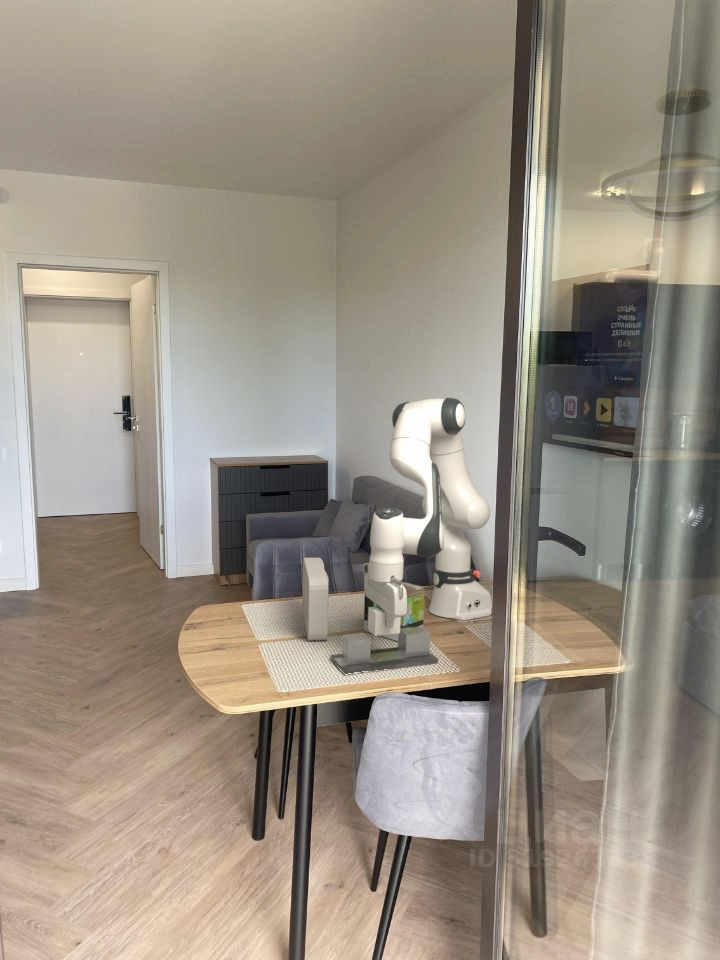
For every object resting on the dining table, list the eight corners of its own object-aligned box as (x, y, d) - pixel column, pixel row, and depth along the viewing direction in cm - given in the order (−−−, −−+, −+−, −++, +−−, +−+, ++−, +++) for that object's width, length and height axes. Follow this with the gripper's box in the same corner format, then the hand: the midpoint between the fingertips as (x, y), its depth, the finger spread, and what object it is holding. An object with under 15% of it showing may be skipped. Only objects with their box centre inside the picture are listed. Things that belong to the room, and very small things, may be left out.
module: (392, 627, 195) (393, 604, 194) (399, 633, 191) (400, 610, 190) (367, 629, 193) (368, 606, 192) (374, 635, 188) (375, 612, 187)
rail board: (419, 648, 203) (420, 622, 202) (438, 663, 192) (439, 635, 191) (330, 659, 193) (330, 632, 192) (344, 675, 183) (345, 646, 182)
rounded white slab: (335, 642, 206) (336, 580, 203) (308, 643, 205) (309, 580, 202) (326, 610, 234) (327, 555, 231) (302, 611, 233) (302, 555, 230)
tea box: (424, 635, 213) (426, 586, 211) (402, 644, 206) (404, 593, 204) (384, 623, 223) (385, 576, 221) (362, 631, 216) (363, 582, 214)
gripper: (414, 581, 181) (412, 635, 183) (382, 561, 200) (380, 610, 202) (391, 583, 179) (388, 637, 181) (360, 563, 198) (359, 612, 200)
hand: (384, 623), depth 191 cm, fingers closed on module, 5 cm apart
